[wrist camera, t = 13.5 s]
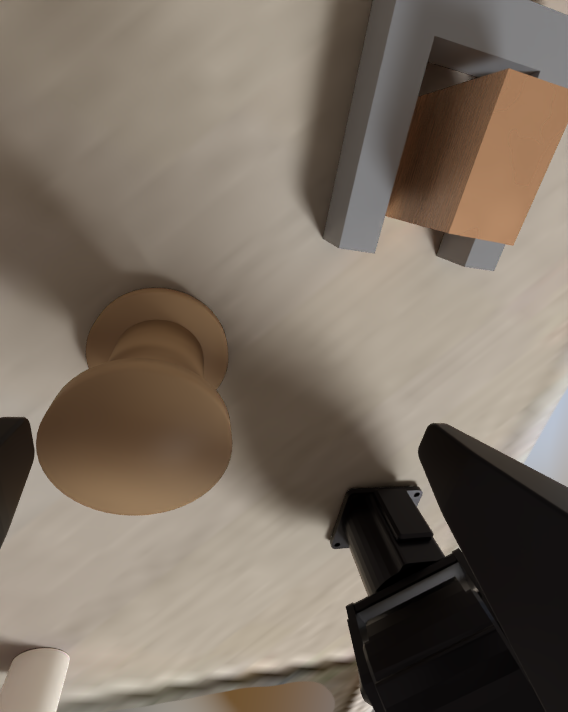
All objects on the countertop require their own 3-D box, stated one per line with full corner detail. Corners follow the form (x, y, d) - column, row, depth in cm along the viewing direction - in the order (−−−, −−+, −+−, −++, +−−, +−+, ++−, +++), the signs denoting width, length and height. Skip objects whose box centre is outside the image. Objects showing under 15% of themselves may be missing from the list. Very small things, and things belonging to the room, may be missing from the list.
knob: (221, 405, 22) (230, 516, 15) (95, 402, 20) (39, 525, 13) (233, 295, 19) (251, 370, 12) (86, 280, 17) (9, 357, 10)
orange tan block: (429, 223, 19) (513, 245, 14) (379, 214, 19) (448, 233, 13) (466, 114, 17) (581, 93, 12) (411, 98, 16) (508, 68, 11)
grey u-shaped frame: (463, 260, 21) (493, 271, 19) (322, 238, 18) (338, 248, 16) (545, 45, 16) (598, 27, 14) (376, -16, 14) (407, -48, 12)
